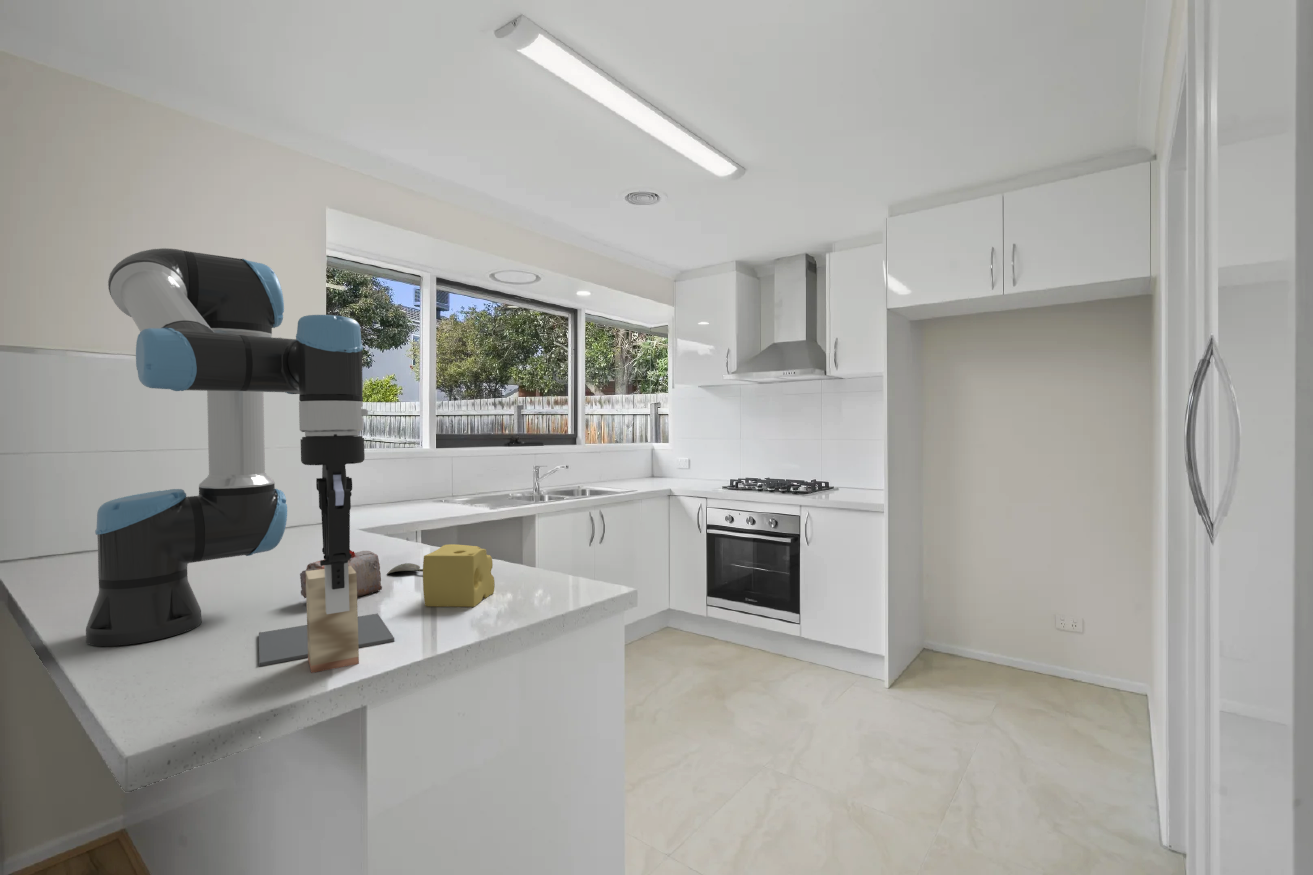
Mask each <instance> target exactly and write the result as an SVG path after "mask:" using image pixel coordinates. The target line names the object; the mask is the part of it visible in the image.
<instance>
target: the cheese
mask: <svg viewBox="0 0 1313 875" xmlns="http://www.w3.org/2000/svg"><path fill="white" fill-rule="evenodd" d="M422 563H423V564H422V569H423V571H422V590H423V600H424V607H437V608H439V607H441V608H442V607H443V608H445V607H449V608H450V607H451V608H452V607H454V608H458V607H459V608H464V607H465V608H474V607H476V606H477V605H478V604H480V603H481V602H482V601H483V599H486V598H488V597H489V595H490V596H491V595H493V594H495V577H494V576H493V574H492V569H493V565H494V564H493V558H492V556H491V555H490V554H488V553H487V549H486V548H481V547H480V546H477V545H468V544H467V545H466V544H454V543H453V544H452V543H451V544H443V545H442V546H440V547H439V548H437V549H436V550H434V551H432V552H430V553H428V554H425V555H423V562H422Z"/></svg>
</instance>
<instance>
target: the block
mask: <svg viewBox="0 0 1313 875" xmlns="http://www.w3.org/2000/svg"><path fill="white" fill-rule="evenodd" d="M348 573H349V610H350V611H345V612H339V613H332V614H326V604H325V569H319V570H311V571H306V598H305V599H306V625H307V637H308V657H307V661H308V664H309V669H310V672H311V674H313V673H317V672H322V671H329V670H334V669H339V668H343V667H349V666H353V665H358V664H360V657H359V656H360V654H359V649H360V648H359V647H358V612H359V611H358V597H357V575H356V572H355V570H354V569H353V568H352V566H348Z"/></svg>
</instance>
